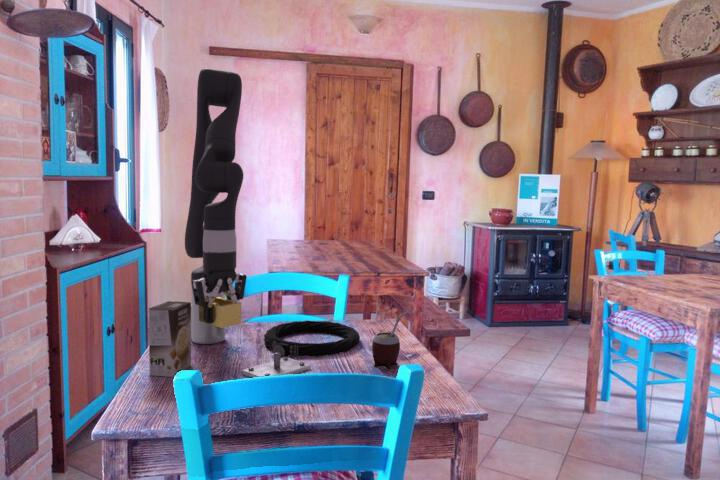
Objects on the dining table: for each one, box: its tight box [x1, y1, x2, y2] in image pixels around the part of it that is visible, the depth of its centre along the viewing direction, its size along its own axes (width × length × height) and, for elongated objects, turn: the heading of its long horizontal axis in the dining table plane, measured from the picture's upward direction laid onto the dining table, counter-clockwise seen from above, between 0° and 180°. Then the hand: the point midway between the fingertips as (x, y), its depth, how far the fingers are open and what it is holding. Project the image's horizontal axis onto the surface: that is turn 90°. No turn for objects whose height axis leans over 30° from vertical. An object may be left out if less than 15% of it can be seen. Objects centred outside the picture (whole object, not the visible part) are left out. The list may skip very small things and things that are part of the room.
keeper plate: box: [241, 352, 311, 378], centre depth 135 cm, size 14×9×4 cm, turn 140°
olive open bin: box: [199, 297, 242, 329], centre depth 130 cm, size 9×5×5 cm, turn 49°
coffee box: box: [148, 300, 192, 378], centre depth 134 cm, size 9×6×16 cm
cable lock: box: [263, 320, 361, 358], centre depth 159 cm, size 28×4×30 cm
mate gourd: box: [371, 310, 410, 371], centre depth 140 cm, size 8×8×15 cm
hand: (219, 320), depth 130 cm, fingers closed on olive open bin, 5 cm apart
